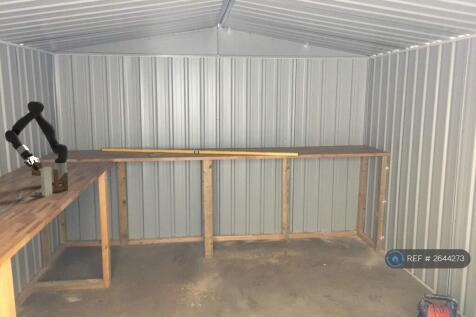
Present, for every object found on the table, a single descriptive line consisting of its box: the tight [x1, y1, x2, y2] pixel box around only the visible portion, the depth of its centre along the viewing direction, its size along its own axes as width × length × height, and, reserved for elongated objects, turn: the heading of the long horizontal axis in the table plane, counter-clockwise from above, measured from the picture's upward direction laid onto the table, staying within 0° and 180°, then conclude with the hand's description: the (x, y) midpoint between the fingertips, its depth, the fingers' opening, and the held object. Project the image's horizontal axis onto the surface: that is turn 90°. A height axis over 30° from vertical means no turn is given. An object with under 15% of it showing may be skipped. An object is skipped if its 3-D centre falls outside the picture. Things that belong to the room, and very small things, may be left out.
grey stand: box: [29, 166, 54, 198], centre depth 316 cm, size 11×13×21 cm
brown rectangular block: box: [31, 161, 43, 177], centre depth 315 cm, size 4×6×10 cm, turn 77°
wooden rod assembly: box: [52, 168, 69, 193], centre depth 331 cm, size 4×11×18 cm, turn 140°
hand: (39, 169), depth 315 cm, fingers closed on brown rectangular block, 4 cm apart
